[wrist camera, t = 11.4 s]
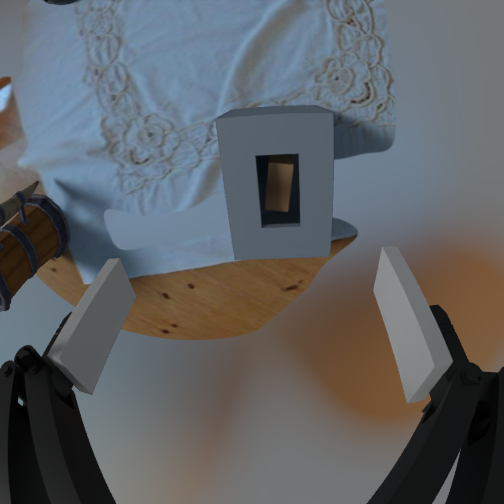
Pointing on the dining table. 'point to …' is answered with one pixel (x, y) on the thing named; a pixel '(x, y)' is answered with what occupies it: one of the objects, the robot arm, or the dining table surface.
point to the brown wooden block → (279, 182)
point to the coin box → (256, 171)
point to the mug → (28, 239)
